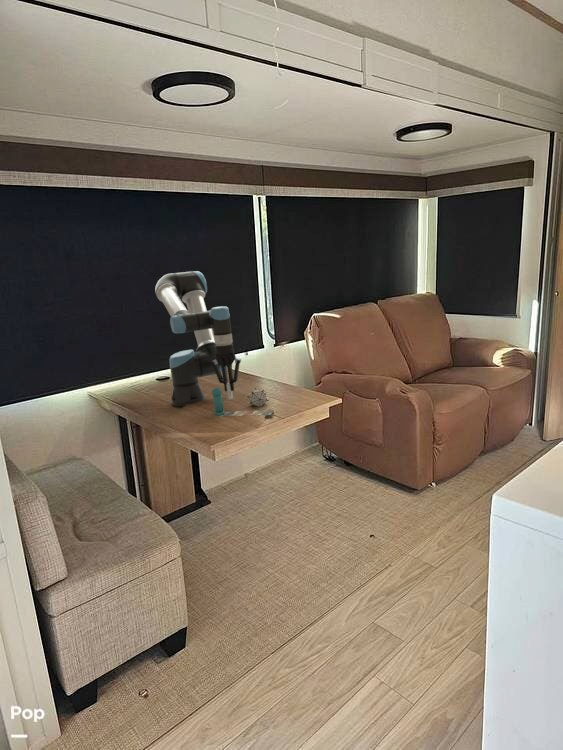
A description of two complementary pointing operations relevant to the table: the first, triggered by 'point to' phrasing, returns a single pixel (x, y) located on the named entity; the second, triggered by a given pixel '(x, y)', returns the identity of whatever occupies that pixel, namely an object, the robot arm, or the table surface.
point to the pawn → (218, 401)
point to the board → (249, 413)
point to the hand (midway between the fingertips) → (230, 398)
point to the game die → (257, 398)
